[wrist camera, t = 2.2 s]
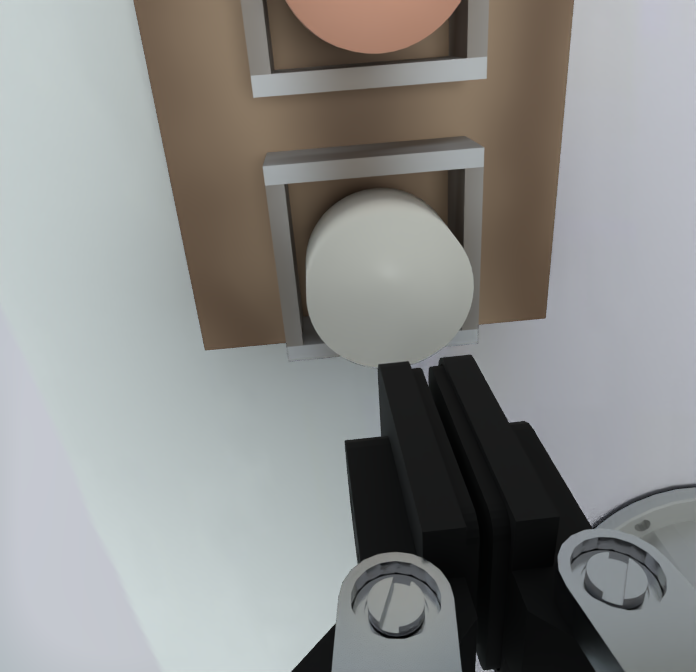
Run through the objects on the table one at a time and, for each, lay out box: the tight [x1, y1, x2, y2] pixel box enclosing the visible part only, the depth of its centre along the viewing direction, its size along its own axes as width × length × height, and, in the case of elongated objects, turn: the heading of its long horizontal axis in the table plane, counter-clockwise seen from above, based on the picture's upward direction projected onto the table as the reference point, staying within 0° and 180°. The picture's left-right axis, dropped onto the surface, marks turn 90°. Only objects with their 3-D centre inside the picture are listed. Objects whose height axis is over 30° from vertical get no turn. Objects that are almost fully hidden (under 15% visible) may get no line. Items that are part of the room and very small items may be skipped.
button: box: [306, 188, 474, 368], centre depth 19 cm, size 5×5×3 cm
